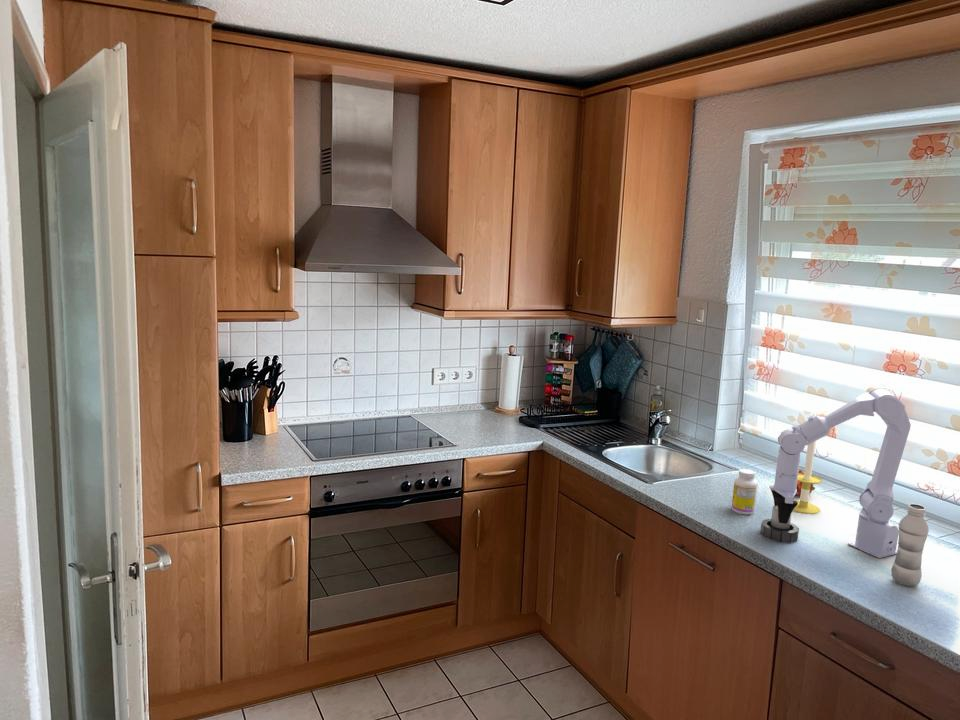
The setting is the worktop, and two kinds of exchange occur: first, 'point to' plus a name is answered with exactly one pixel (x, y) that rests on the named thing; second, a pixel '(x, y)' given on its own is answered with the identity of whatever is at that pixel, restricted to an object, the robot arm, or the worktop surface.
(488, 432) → the worktop surface
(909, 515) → the plastic bottle
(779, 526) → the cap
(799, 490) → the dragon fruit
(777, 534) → the segmented grey ring
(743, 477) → the supplement bottle
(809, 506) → the candle
